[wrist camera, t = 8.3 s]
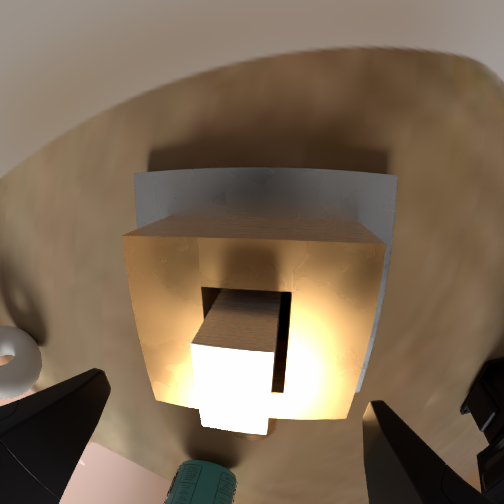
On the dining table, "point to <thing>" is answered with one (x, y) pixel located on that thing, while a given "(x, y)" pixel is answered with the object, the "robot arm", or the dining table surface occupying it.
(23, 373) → the donut
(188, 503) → the beverage bottle
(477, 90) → the dining table surface
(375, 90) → the dining table surface
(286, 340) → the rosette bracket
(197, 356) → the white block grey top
